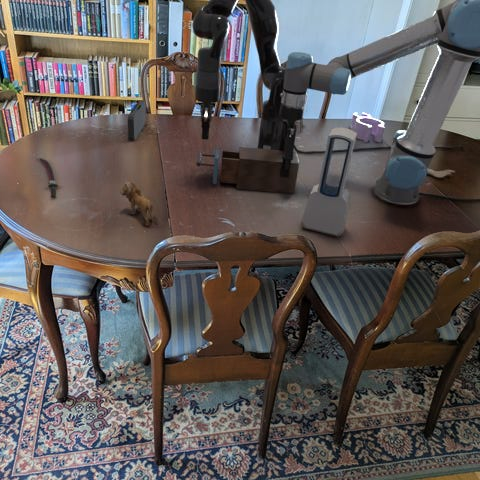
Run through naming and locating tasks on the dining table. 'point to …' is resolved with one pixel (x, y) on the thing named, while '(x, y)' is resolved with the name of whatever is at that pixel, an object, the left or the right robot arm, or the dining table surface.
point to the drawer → (223, 165)
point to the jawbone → (439, 173)
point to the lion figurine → (137, 201)
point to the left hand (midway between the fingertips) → (205, 138)
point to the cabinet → (265, 171)
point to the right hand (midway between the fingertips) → (282, 170)
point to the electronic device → (330, 192)
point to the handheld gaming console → (136, 120)
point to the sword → (52, 181)
